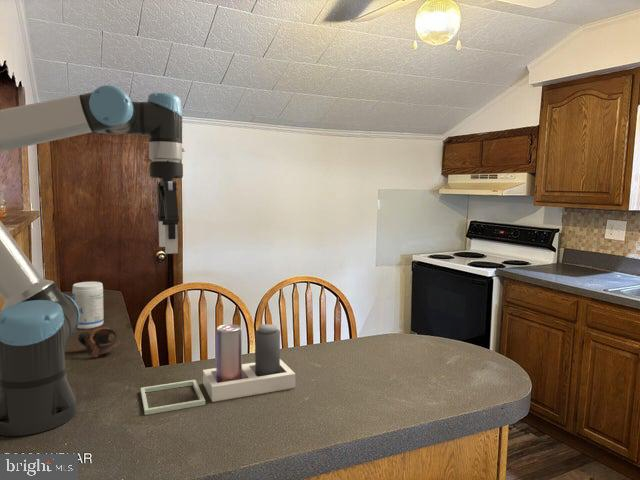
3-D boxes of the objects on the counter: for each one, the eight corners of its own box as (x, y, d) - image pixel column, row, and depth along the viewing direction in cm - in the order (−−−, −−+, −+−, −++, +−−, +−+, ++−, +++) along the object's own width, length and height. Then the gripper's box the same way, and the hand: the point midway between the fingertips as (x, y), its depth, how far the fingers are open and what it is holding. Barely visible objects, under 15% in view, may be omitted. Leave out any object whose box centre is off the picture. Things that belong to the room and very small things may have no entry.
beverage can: (211, 390, 112) (210, 329, 110) (227, 381, 117) (226, 322, 116) (231, 396, 109) (230, 332, 108) (246, 386, 114) (246, 326, 113)
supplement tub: (66, 327, 161) (65, 285, 160) (89, 320, 170) (87, 280, 169) (88, 330, 158) (87, 287, 157) (110, 323, 167) (109, 282, 165)
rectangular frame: (144, 415, 99) (144, 410, 99) (140, 391, 111) (140, 387, 111) (205, 404, 105) (205, 400, 104) (195, 383, 116) (195, 379, 116)
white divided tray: (212, 401, 106) (212, 386, 106) (203, 383, 116) (202, 369, 116) (295, 387, 114) (295, 373, 114) (280, 371, 124) (280, 358, 124)
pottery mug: (124, 347, 143) (125, 328, 139) (110, 371, 135) (112, 351, 131) (84, 338, 142) (84, 318, 138) (68, 361, 134) (68, 341, 130)
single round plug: (259, 389, 113) (259, 331, 112) (252, 380, 118) (252, 324, 117) (283, 385, 116) (283, 328, 114) (275, 376, 121) (275, 322, 120)
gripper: (191, 159, 103) (192, 255, 105) (175, 164, 125) (177, 243, 128) (154, 157, 100) (156, 257, 102) (145, 163, 122) (147, 244, 124)
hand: (168, 250), depth 115 cm, fingers open, 13 cm apart
